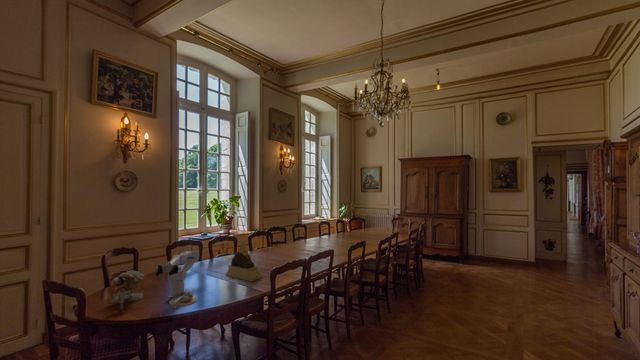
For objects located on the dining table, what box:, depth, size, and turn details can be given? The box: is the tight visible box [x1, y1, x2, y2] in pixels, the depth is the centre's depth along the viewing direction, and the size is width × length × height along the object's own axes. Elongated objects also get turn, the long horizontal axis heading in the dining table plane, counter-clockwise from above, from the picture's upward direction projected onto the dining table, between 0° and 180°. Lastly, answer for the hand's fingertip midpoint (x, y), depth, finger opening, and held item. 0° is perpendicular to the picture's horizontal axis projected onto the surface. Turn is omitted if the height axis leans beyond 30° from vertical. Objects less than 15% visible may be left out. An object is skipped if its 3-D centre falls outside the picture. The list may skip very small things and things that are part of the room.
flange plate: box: [169, 295, 198, 307], centre depth 205 cm, size 16×16×1 cm
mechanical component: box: [111, 290, 133, 311], centre depth 191 cm, size 3×10×10 cm, turn 134°
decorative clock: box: [225, 239, 263, 282], centre depth 261 cm, size 28×13×30 cm, turn 56°
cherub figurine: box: [109, 270, 145, 304], centre depth 211 cm, size 18×18×18 cm
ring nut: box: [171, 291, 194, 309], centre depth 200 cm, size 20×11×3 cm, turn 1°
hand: (163, 274), depth 196 cm, fingers open, 7 cm apart
